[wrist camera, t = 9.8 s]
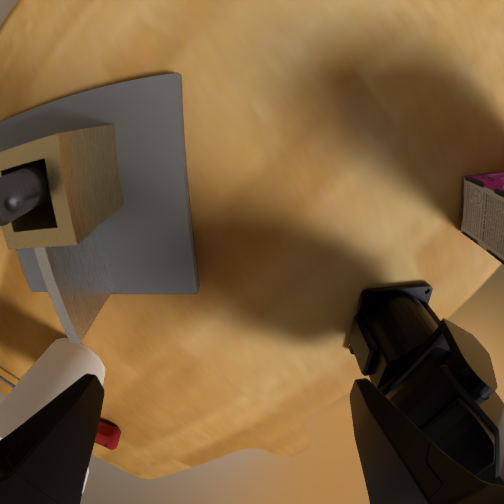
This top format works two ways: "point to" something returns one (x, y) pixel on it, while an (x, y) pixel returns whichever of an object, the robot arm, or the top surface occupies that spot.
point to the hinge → (70, 219)
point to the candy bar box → (484, 212)
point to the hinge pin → (23, 192)
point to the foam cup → (48, 382)
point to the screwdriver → (105, 433)
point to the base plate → (129, 181)
